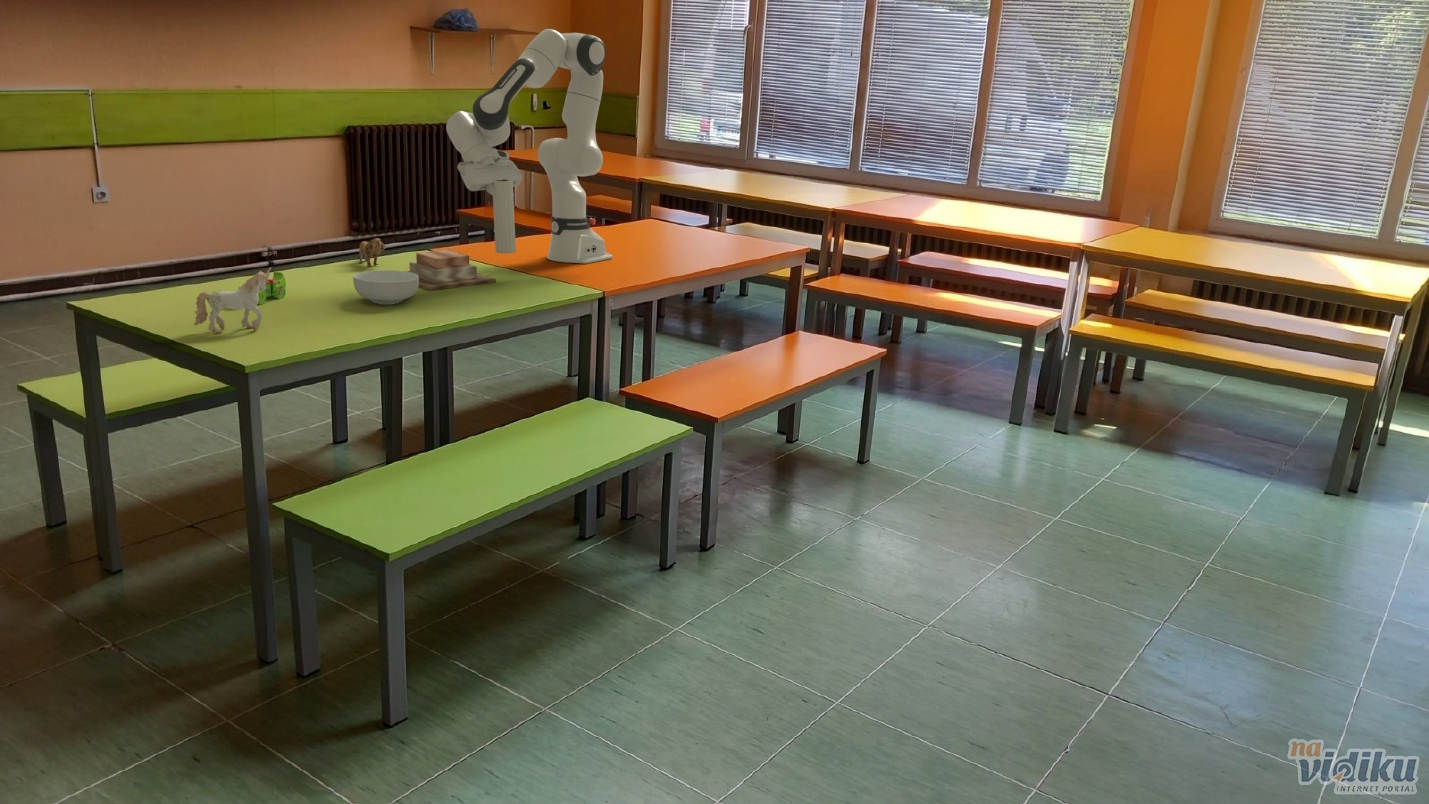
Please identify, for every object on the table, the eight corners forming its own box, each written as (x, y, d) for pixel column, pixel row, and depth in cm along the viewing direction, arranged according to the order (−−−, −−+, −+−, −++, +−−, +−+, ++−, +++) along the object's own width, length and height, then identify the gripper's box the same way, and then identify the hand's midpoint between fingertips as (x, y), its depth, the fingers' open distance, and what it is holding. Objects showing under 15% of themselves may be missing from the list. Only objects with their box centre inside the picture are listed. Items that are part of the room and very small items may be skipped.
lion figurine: (389, 267, 323) (387, 238, 320) (373, 269, 319) (371, 240, 317) (364, 259, 333) (363, 231, 330) (349, 261, 329) (347, 232, 326)
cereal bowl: (432, 301, 286) (432, 275, 284) (385, 311, 272) (384, 285, 270) (388, 291, 294) (387, 266, 292) (340, 301, 280) (339, 275, 278)
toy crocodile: (246, 310, 266) (244, 286, 264) (224, 306, 268) (221, 283, 266) (295, 294, 284) (294, 272, 282) (274, 292, 286) (273, 269, 284)
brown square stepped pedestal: (455, 269, 327) (454, 245, 324) (495, 282, 312) (495, 257, 310) (390, 276, 312) (389, 251, 309) (430, 290, 297) (429, 264, 295)
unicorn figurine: (288, 327, 253) (285, 272, 249) (206, 339, 239) (200, 281, 235) (275, 320, 258) (271, 267, 253) (193, 332, 244) (187, 275, 240)
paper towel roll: (502, 254, 311) (499, 181, 305) (491, 252, 315) (487, 179, 309) (523, 252, 316) (520, 179, 309) (512, 249, 320) (508, 178, 314)
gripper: (460, 155, 302) (484, 194, 300) (511, 152, 318) (535, 188, 316) (449, 169, 305) (474, 208, 303) (501, 165, 321) (524, 201, 320)
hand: (505, 198), depth 310 cm, fingers closed on paper towel roll, 3 cm apart
